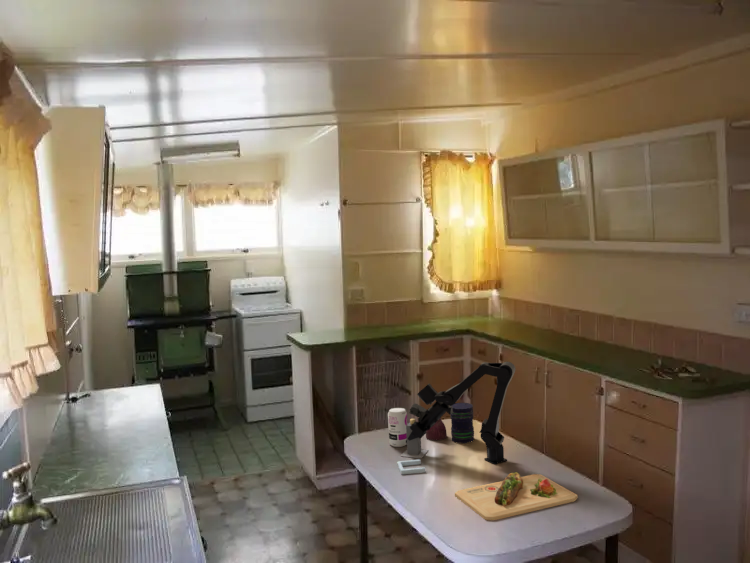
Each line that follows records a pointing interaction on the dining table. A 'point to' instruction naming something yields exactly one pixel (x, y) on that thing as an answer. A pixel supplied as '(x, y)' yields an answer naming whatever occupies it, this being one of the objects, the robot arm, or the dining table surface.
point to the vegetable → (437, 431)
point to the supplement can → (397, 427)
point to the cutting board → (515, 496)
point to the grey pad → (415, 455)
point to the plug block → (412, 441)
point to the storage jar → (462, 423)
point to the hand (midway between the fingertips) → (410, 437)
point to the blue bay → (412, 470)
